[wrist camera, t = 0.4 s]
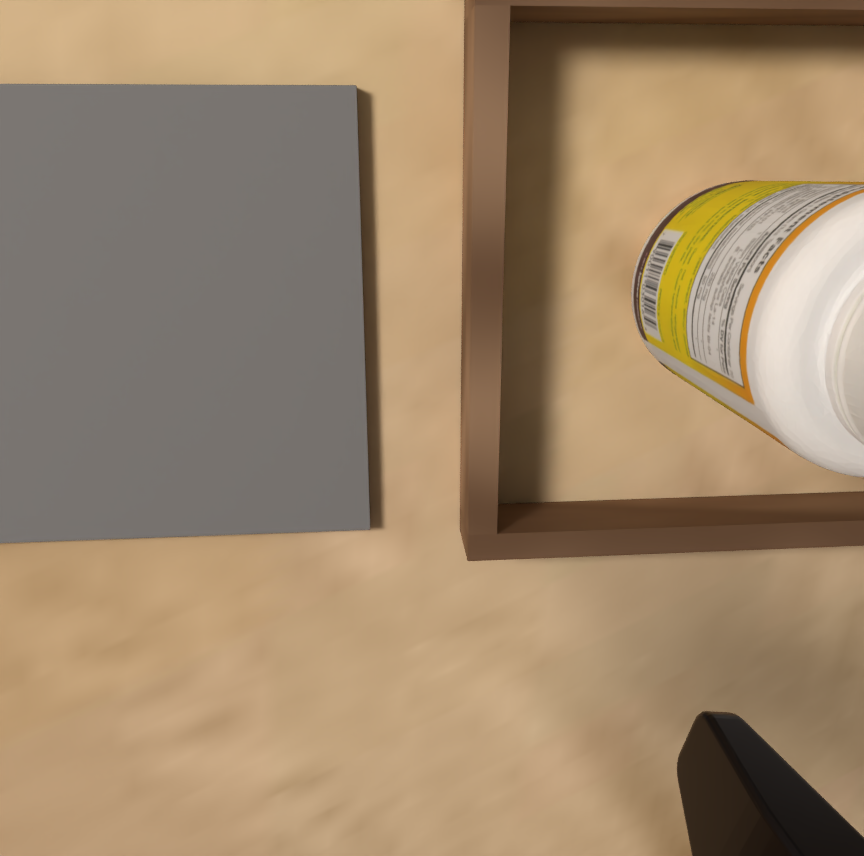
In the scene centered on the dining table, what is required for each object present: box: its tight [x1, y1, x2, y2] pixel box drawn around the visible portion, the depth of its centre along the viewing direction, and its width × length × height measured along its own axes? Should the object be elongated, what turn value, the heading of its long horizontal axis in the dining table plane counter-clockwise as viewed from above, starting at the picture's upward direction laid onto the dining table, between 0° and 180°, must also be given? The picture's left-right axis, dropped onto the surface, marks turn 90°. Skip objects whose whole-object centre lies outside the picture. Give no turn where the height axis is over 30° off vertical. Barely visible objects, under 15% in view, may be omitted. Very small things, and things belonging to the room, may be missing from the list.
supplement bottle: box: [631, 180, 864, 477], centre depth 17 cm, size 6×6×10 cm
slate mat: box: [0, 84, 370, 543], centre depth 21 cm, size 12×12×1 cm
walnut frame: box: [460, 0, 864, 561], centre depth 21 cm, size 15×15×2 cm
